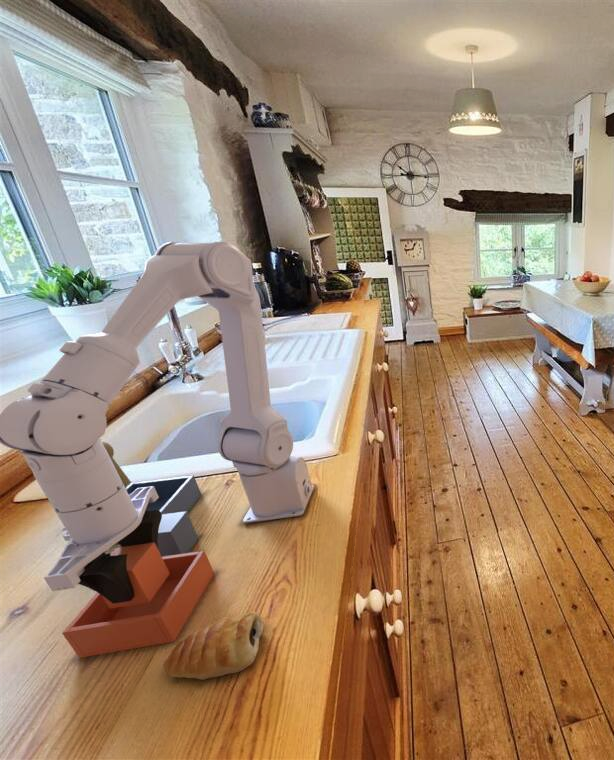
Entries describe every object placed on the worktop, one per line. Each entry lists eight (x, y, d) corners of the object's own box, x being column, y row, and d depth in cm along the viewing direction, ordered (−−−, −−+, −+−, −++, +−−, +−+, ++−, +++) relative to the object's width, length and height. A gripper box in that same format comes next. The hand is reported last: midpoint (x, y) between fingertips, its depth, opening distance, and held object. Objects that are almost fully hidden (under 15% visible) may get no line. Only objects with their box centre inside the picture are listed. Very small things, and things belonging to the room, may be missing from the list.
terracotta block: (170, 573, 54) (154, 542, 52) (149, 602, 50) (131, 569, 48) (133, 579, 54) (116, 547, 51) (109, 609, 50) (89, 576, 47)
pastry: (158, 699, 44) (144, 677, 42) (182, 641, 50) (171, 620, 48) (256, 669, 46) (246, 646, 45) (268, 617, 52) (260, 595, 51)
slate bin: (201, 494, 75) (193, 475, 74) (169, 535, 66) (159, 513, 64) (140, 502, 74) (130, 482, 72) (99, 544, 65) (86, 523, 63)
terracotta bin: (214, 573, 59) (204, 550, 57) (174, 641, 50) (160, 616, 48) (135, 585, 57) (122, 562, 56) (78, 658, 48) (61, 633, 46)
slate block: (198, 538, 65) (186, 511, 63) (183, 559, 61) (170, 531, 59) (168, 542, 65) (155, 515, 63) (151, 564, 61) (136, 536, 59)
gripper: (97, 462, 52) (139, 543, 57) (-16, 549, 39) (52, 644, 44) (158, 456, 53) (194, 536, 58) (68, 538, 40) (125, 632, 45)
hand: (137, 582), depth 51 cm, fingers closed on terracotta block, 4 cm apart
